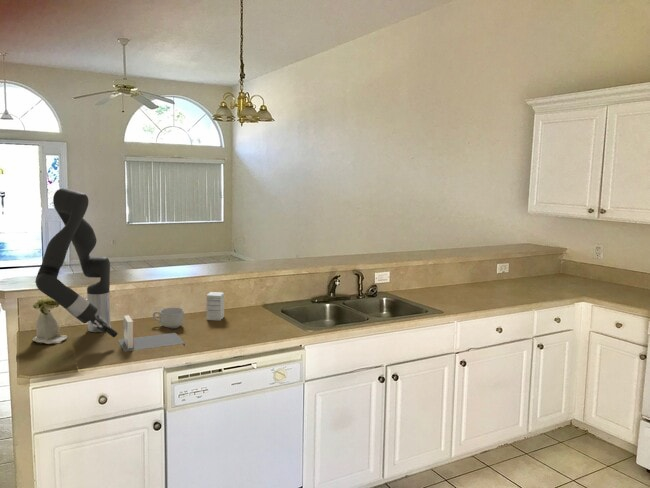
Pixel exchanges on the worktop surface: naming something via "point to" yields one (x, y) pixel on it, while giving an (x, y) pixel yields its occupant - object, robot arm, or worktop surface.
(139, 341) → the mat
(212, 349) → the worktop surface
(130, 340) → the tile
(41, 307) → the potted leafy plant
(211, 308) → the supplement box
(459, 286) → the worktop surface
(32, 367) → the worktop surface
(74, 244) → the robot arm
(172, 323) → the teacup
